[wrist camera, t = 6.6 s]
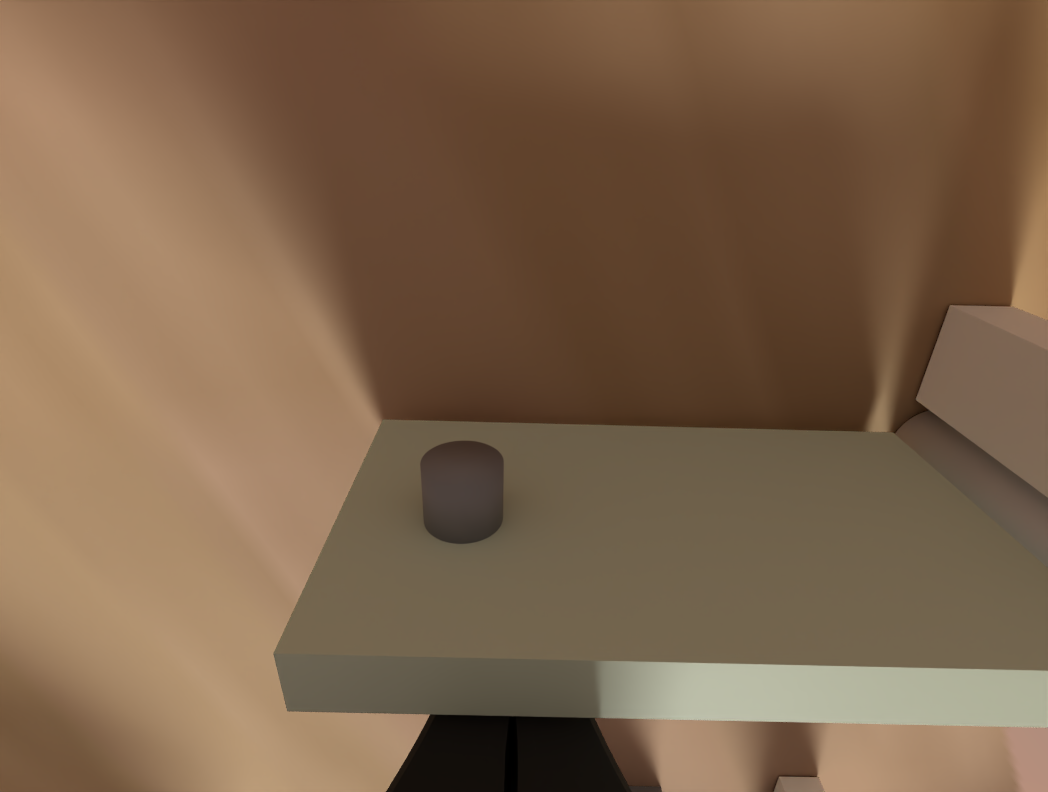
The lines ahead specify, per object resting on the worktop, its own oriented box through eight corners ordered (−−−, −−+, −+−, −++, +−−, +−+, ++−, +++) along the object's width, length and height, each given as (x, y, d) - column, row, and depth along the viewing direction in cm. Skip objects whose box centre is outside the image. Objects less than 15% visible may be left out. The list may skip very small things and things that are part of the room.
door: (378, 373, 11) (257, 587, 6) (909, 387, 11) (1217, 609, 6) (387, 461, 12) (287, 710, 7) (878, 474, 12) (1126, 729, 7)
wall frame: (754, 826, 19) (859, 1152, 13) (939, 304, 11) (1419, 530, 5) (804, 827, 19) (930, 1153, 13) (1023, 307, 11) (1600, 533, 5)
